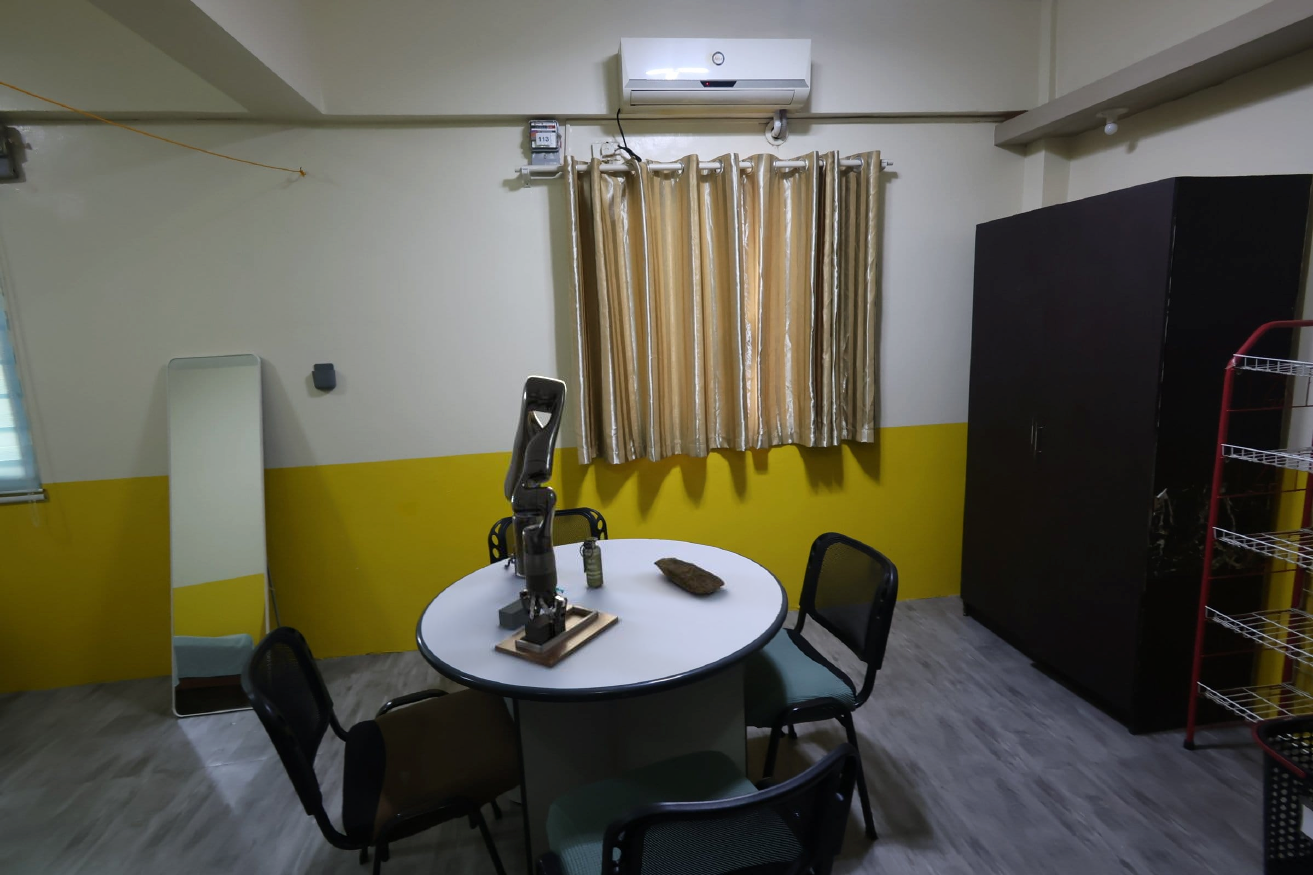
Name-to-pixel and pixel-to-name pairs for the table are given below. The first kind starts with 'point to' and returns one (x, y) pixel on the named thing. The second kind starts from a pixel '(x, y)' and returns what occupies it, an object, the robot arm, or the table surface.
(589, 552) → the grenade
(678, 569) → the stone
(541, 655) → the mount board
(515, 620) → the pad
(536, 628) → the pad
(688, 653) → the table surface
